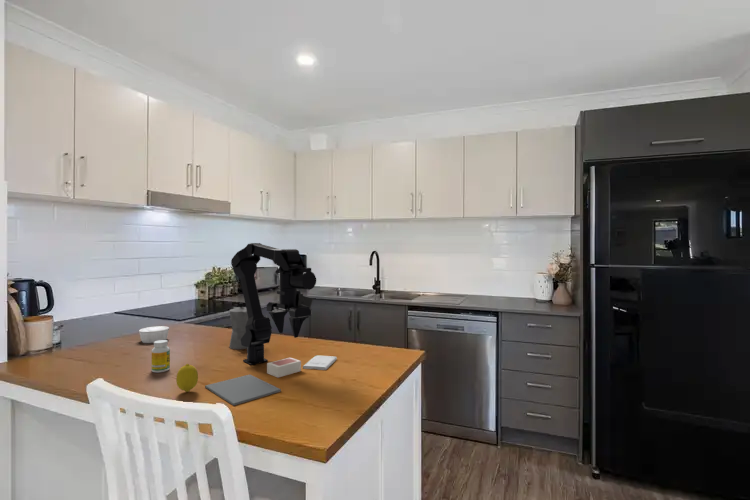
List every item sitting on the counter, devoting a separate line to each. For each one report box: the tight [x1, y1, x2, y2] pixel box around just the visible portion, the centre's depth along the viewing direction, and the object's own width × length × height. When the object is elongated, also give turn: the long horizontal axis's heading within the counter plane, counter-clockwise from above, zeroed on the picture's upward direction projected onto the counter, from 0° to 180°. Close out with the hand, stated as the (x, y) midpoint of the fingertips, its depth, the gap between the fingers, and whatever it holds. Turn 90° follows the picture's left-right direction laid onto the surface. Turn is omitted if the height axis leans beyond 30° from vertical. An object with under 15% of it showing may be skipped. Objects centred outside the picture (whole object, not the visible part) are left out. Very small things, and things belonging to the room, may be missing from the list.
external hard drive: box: [302, 355, 338, 371], centre depth 137 cm, size 2×8×12 cm
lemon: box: [175, 363, 199, 393], centre depth 110 cm, size 6×6×8 cm
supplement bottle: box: [150, 339, 171, 374], centre depth 129 cm, size 5×5×10 cm
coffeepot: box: [229, 302, 248, 350], centre depth 160 cm, size 15×9×18 cm, turn 44°
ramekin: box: [138, 325, 170, 344], centre depth 168 cm, size 11×11×5 cm
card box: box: [266, 357, 302, 378], centre depth 128 cm, size 6×9×4 cm, turn 138°
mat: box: [204, 374, 282, 406], centre depth 112 cm, size 18×14×1 cm
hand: (288, 335), depth 128 cm, fingers open, 9 cm apart
